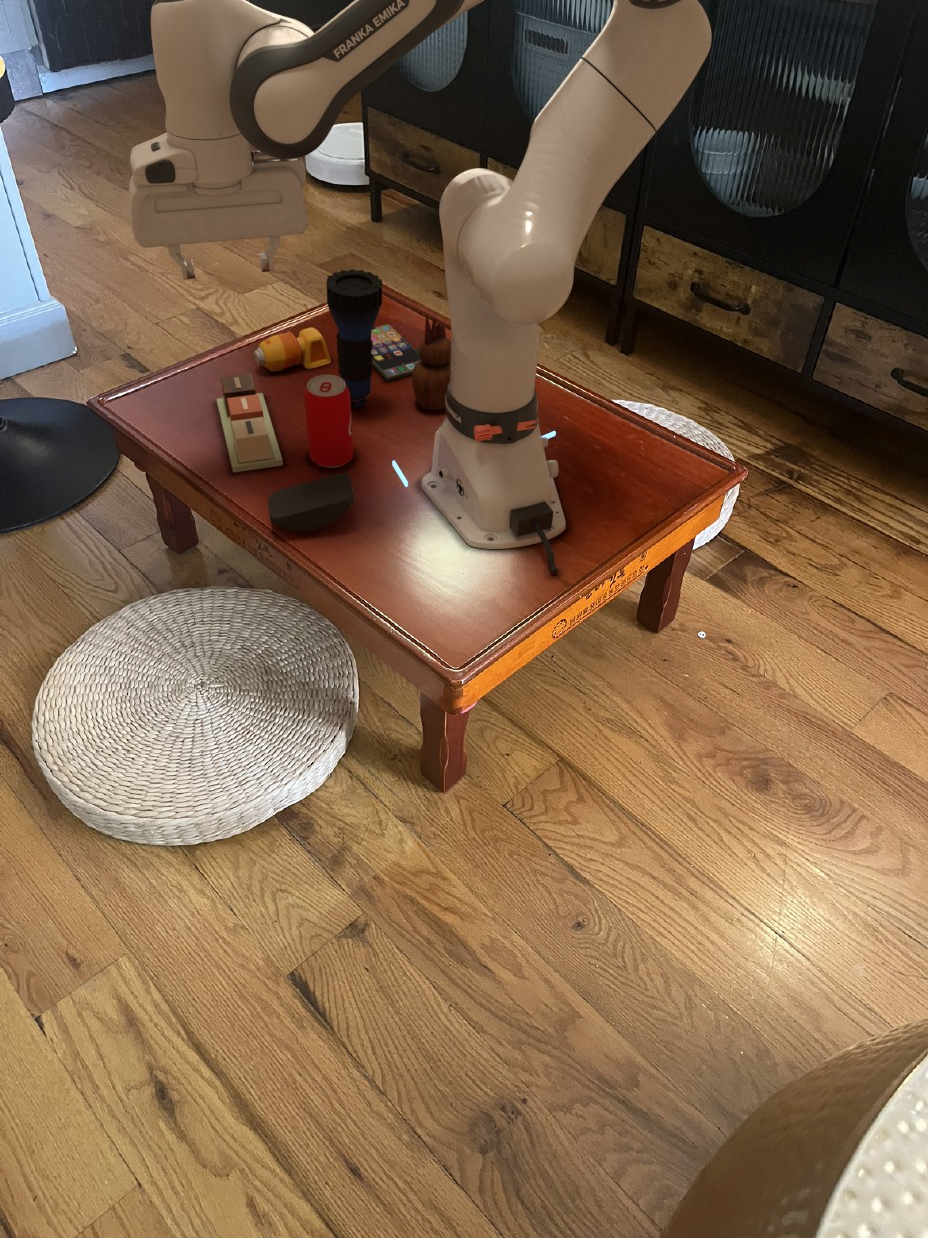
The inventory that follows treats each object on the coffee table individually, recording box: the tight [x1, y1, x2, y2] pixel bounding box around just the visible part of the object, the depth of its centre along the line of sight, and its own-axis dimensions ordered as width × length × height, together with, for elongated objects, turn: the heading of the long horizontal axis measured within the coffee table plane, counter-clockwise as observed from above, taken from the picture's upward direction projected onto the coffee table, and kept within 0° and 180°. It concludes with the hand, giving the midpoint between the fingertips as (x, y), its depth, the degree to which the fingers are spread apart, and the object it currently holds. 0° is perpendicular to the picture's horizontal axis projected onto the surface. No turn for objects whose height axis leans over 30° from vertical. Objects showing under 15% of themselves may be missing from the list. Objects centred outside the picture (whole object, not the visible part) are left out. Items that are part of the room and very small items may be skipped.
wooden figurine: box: [411, 317, 451, 411], centre depth 139 cm, size 7×6×15 cm
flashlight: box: [325, 269, 383, 408], centre depth 136 cm, size 8×8×20 cm
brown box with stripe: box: [220, 373, 257, 416], centre depth 139 cm, size 4×4×4 cm
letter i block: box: [231, 417, 271, 463], centre depth 131 cm, size 4×4×4 cm
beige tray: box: [216, 392, 284, 473], centre depth 135 cm, size 18×7×5 cm, turn 17°
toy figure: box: [253, 327, 332, 372], centre depth 149 cm, size 5×6×12 cm
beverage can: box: [303, 374, 355, 469], centre depth 130 cm, size 6×6×12 cm
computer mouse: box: [267, 473, 355, 533], centre depth 122 cm, size 6×11×4 cm, turn 102°
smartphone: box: [371, 323, 421, 382], centre depth 154 cm, size 8×15×1 cm, turn 31°
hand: (228, 273), depth 114 cm, fingers open, 8 cm apart
